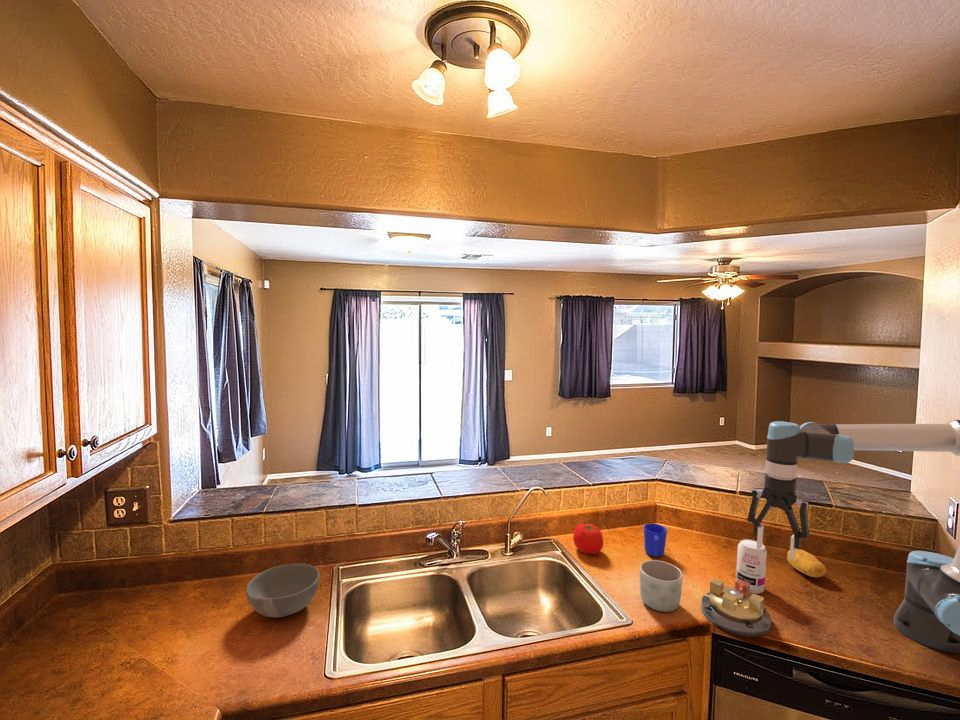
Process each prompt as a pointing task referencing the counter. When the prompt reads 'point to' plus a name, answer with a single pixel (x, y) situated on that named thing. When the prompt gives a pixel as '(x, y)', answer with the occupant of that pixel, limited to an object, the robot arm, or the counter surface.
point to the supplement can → (751, 565)
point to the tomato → (588, 538)
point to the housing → (734, 626)
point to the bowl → (283, 589)
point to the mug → (654, 539)
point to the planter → (660, 585)
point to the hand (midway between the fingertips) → (775, 552)
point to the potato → (807, 563)
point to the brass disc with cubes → (730, 607)
